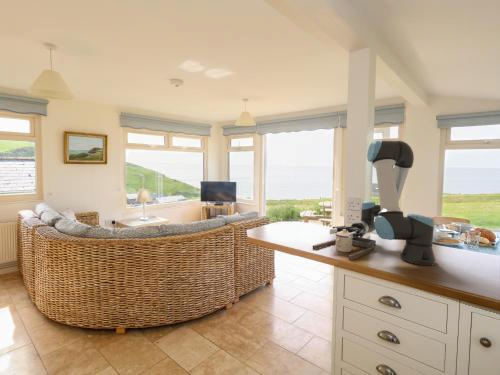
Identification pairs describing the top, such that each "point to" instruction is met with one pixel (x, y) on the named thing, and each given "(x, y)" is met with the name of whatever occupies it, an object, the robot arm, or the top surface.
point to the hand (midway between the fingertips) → (339, 233)
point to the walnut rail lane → (349, 255)
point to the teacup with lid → (343, 241)
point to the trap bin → (363, 242)
